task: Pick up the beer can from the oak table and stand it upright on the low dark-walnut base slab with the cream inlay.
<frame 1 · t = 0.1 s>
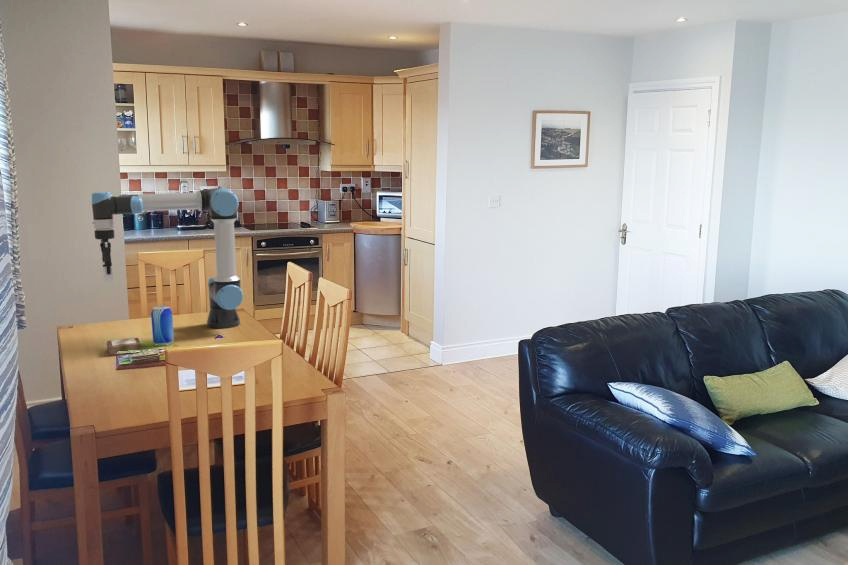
hand: (108, 279, 305), 28 cm above the table, fingers open, 13 cm apart
base slab: (124, 350, 298), on the table
beer can: (163, 344, 309), on the table
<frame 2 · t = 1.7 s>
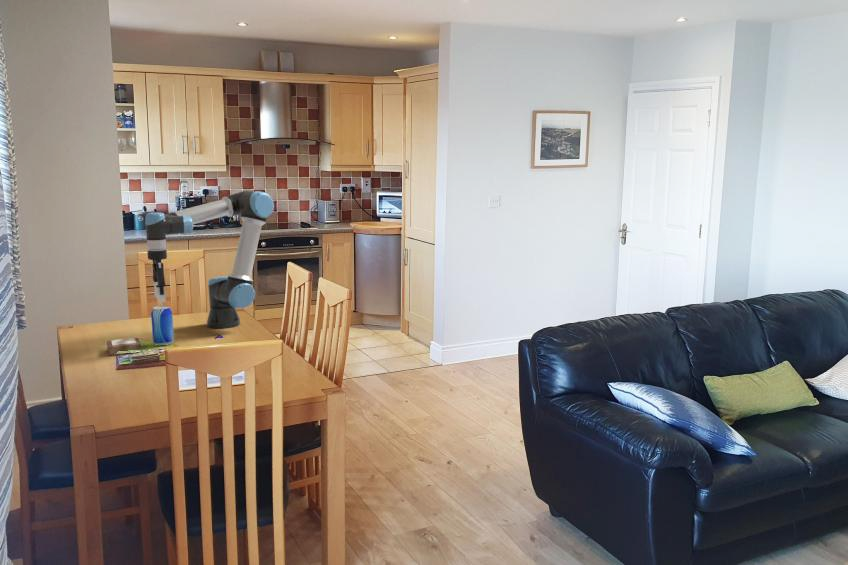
hand: (160, 299, 305), 19 cm above the table, fingers open, 13 cm apart
nothing on the table moved.
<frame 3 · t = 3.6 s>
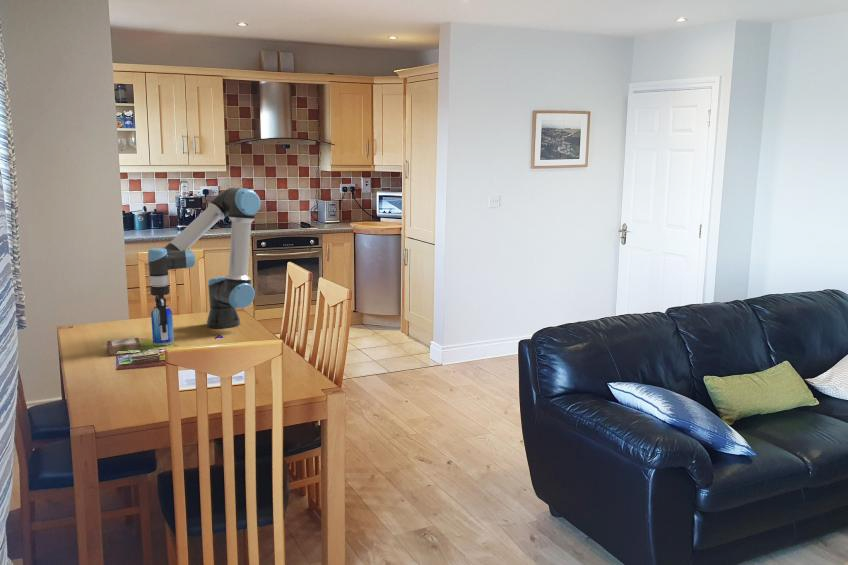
hand: (163, 337, 308), 3 cm above the table, fingers closed on beer can, 8 cm apart
beer can: (163, 344, 309), on the table, touching gripper
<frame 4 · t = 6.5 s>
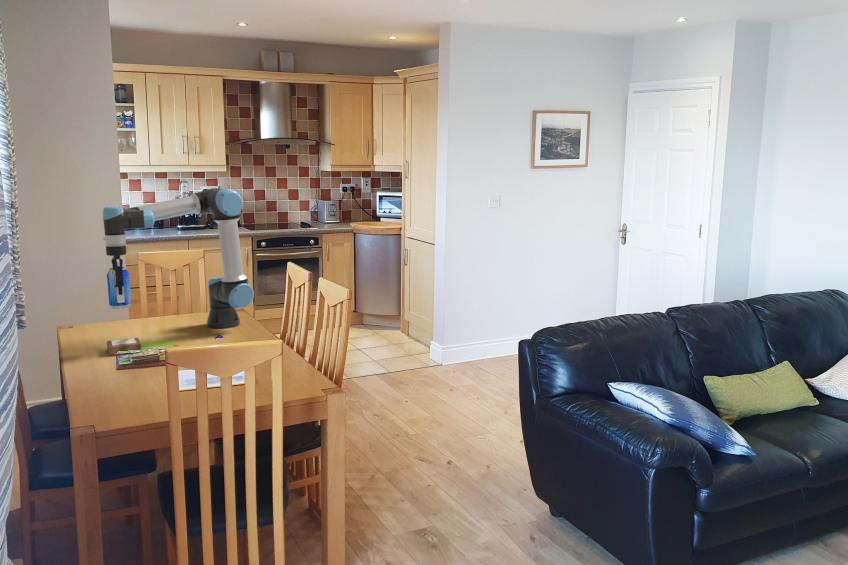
hand: (120, 300, 294), 21 cm above the table, fingers closed on beer can, 8 cm apart
beer can: (120, 307, 295), point 18 cm above the table, touching gripper
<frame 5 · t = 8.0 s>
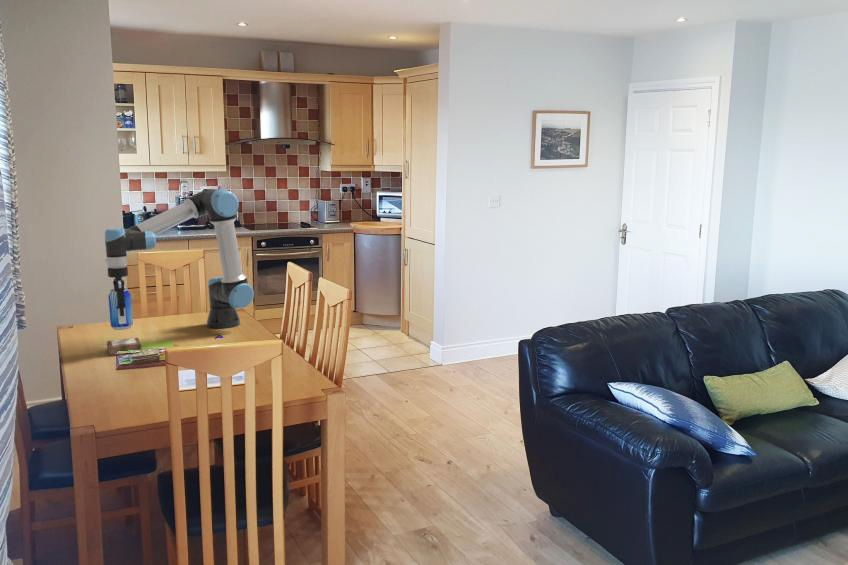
hand: (121, 321, 296), 12 cm above the table, fingers closed on beer can, 8 cm apart
beer can: (122, 328, 296), point 9 cm above the table, touching gripper
when the fingers open (8 cm above the table, at t = 9.3 s): beer can drops 1 cm, resting on base slab.
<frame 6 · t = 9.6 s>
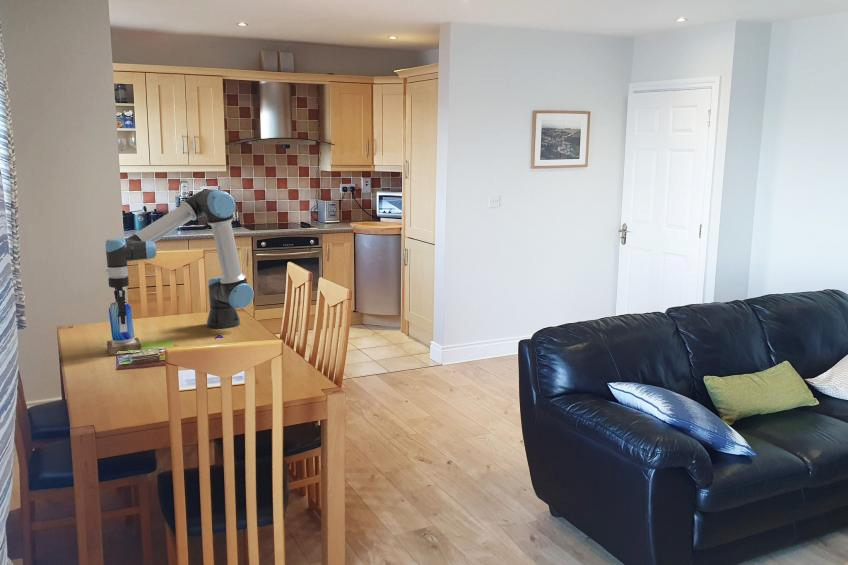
hand: (122, 328, 296), 9 cm above the table, fingers open, 12 cm apart
beer can: (123, 341, 297), point 4 cm above the table, touching base slab
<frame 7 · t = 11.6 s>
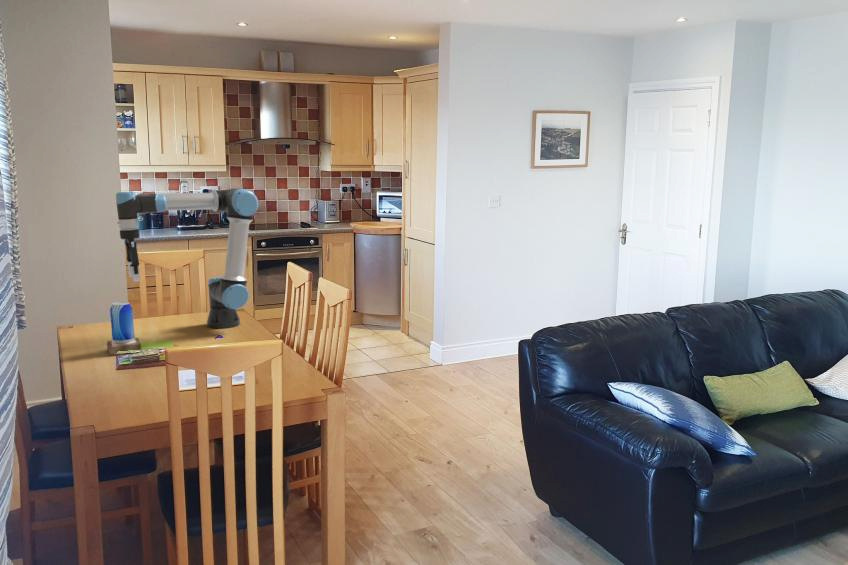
hand: (134, 279, 304), 28 cm above the table, fingers open, 13 cm apart
nothing on the table moved.
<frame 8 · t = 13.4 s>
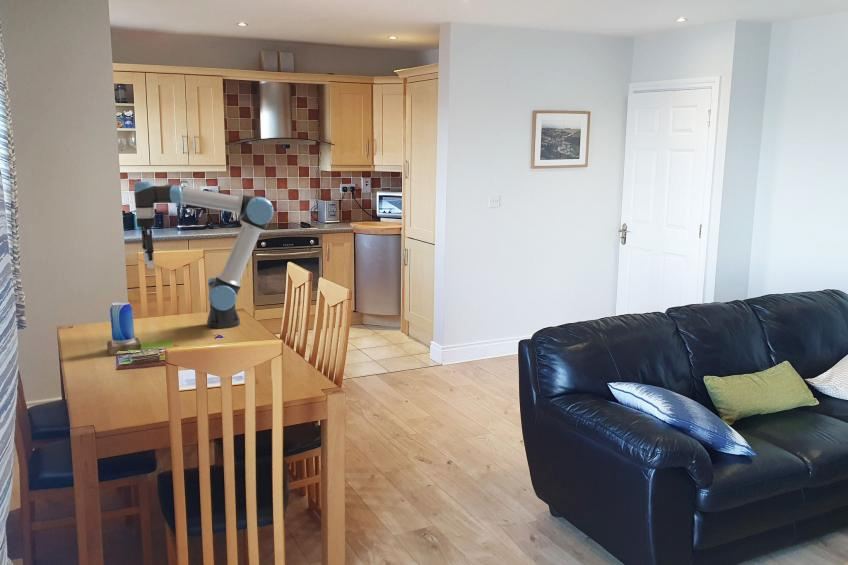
hand: (149, 266, 316), 32 cm above the table, fingers open, 13 cm apart
nothing on the table moved.
at the end: beer can inside the target area on the base slab (0.1 cm from its centre), point 3.8 cm above the base slab's base; beer can tilted 0°; the gripper is holding nothing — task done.
